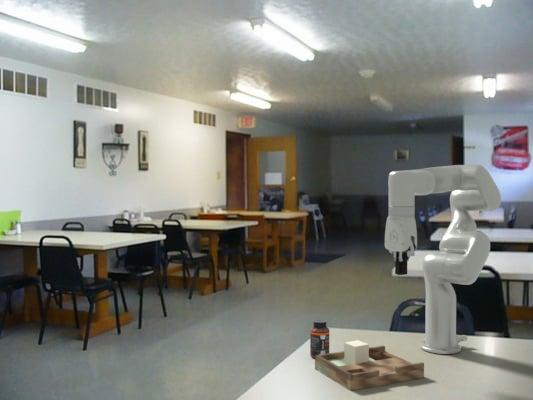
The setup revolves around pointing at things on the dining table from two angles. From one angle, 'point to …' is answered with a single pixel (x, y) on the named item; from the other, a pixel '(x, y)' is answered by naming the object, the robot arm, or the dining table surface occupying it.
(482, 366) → the dining table surface
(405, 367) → the tray
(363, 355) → the block
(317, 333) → the supplement bottle
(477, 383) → the dining table surface
